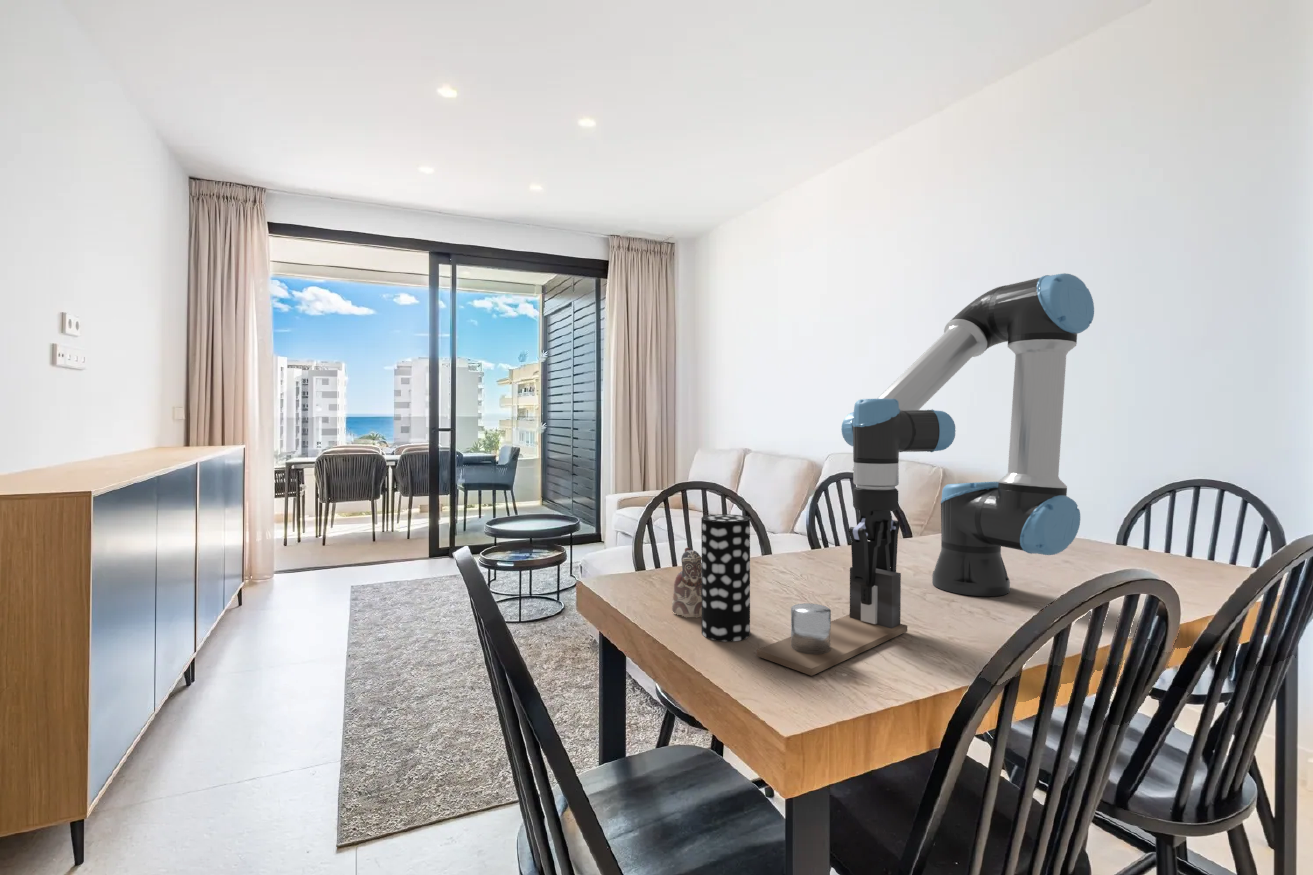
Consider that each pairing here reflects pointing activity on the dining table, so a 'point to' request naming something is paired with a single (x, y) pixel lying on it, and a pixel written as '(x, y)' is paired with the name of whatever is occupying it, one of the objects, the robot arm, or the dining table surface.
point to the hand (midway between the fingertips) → (874, 619)
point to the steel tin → (811, 628)
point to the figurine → (688, 586)
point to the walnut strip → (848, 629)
